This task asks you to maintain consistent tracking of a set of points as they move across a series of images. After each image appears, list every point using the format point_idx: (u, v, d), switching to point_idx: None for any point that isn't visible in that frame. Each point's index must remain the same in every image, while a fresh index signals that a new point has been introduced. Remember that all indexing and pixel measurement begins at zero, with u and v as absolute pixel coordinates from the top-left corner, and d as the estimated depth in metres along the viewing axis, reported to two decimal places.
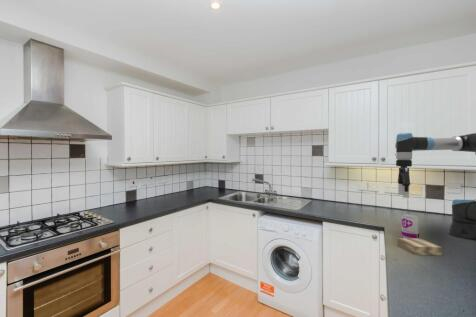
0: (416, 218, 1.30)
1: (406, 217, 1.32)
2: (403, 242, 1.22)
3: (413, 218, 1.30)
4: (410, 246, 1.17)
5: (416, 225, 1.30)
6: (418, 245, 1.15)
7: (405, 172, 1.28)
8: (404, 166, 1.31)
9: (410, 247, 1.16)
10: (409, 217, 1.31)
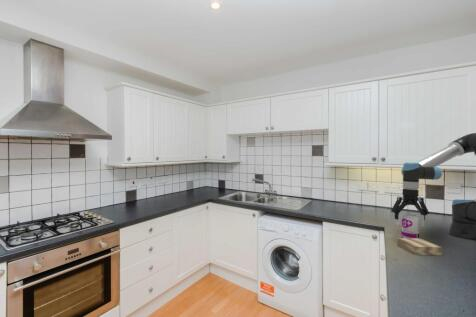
0: (416, 218, 1.30)
1: (406, 217, 1.32)
2: (403, 242, 1.22)
3: (413, 218, 1.30)
4: (410, 246, 1.17)
5: (416, 225, 1.30)
6: (418, 245, 1.15)
7: (397, 200, 1.34)
8: (403, 195, 1.34)
9: (410, 247, 1.16)
10: (409, 217, 1.31)
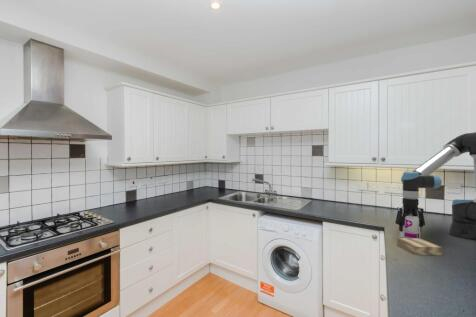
0: (416, 218, 1.30)
1: (406, 217, 1.32)
2: (403, 242, 1.22)
3: (413, 218, 1.30)
4: (410, 246, 1.17)
5: (416, 225, 1.30)
6: (418, 245, 1.15)
7: (398, 212, 1.34)
8: None
9: (410, 247, 1.16)
10: (409, 217, 1.31)
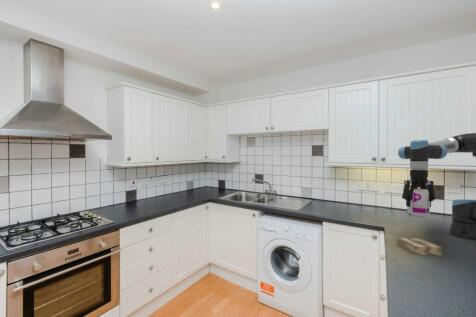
0: (425, 191, 1.17)
1: (414, 190, 1.19)
2: (403, 242, 1.22)
3: (422, 191, 1.17)
4: (410, 246, 1.17)
5: (425, 198, 1.16)
6: (418, 245, 1.15)
7: (405, 185, 1.21)
8: None
9: (410, 247, 1.16)
10: (417, 190, 1.18)
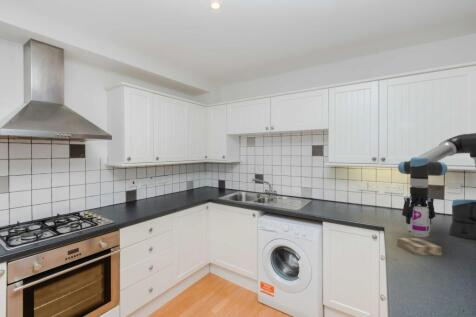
0: (425, 209, 1.16)
1: (414, 208, 1.18)
2: (403, 242, 1.22)
3: (422, 209, 1.16)
4: (410, 246, 1.17)
5: (425, 216, 1.16)
6: (418, 245, 1.15)
7: (405, 202, 1.21)
8: None
9: (410, 247, 1.16)
10: (417, 208, 1.17)
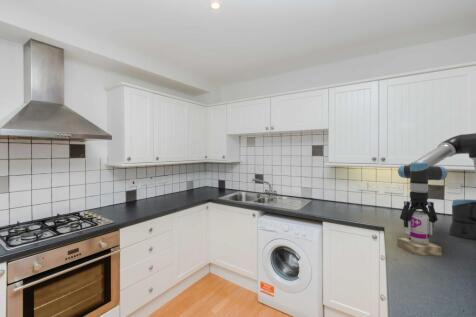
0: (425, 216, 1.16)
1: (414, 215, 1.18)
2: (403, 242, 1.22)
3: (422, 217, 1.16)
4: (410, 246, 1.17)
5: (425, 224, 1.16)
6: (418, 245, 1.15)
7: (404, 206, 1.21)
8: None
9: (410, 247, 1.16)
10: (417, 215, 1.17)
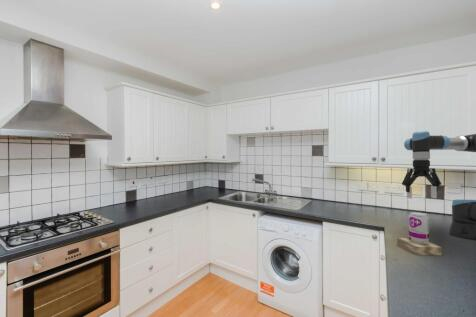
0: (425, 216, 1.16)
1: (414, 215, 1.18)
2: (403, 242, 1.22)
3: (422, 216, 1.16)
4: (410, 246, 1.17)
5: (425, 224, 1.16)
6: (418, 245, 1.15)
7: (407, 172, 1.27)
8: (414, 166, 1.27)
9: (410, 247, 1.16)
10: (418, 215, 1.17)
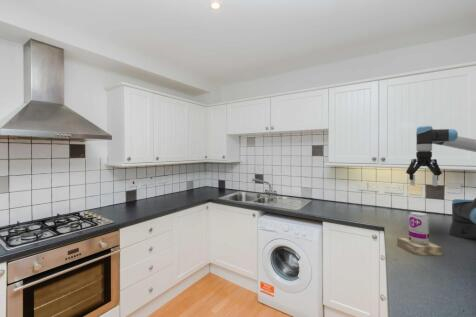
0: (426, 216, 1.16)
1: (414, 215, 1.18)
2: (403, 242, 1.22)
3: (422, 216, 1.16)
4: (410, 246, 1.17)
5: (425, 224, 1.16)
6: (418, 245, 1.15)
7: (411, 162, 1.43)
8: (417, 157, 1.43)
9: (410, 247, 1.16)
10: (418, 215, 1.17)
